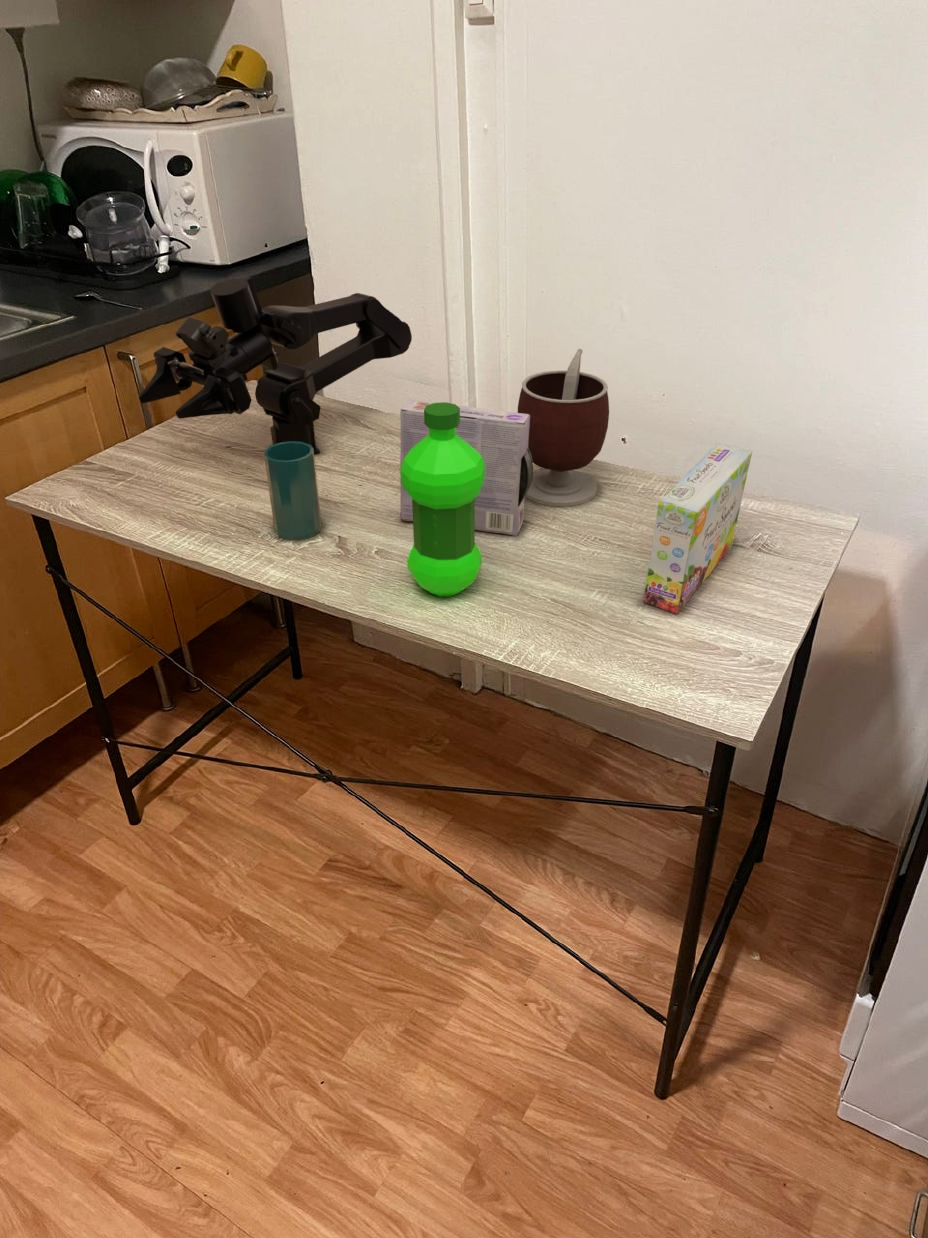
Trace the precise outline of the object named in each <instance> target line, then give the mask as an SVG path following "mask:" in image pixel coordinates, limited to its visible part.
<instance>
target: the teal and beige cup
mask: <svg viewBox="0 0 928 1238" xmlns="http://www.w3.org/2000/svg"><path fill="white" fill-rule="evenodd" d="M263 458H264V463H265V464H264V465H265V471H266V479H267V486H268V492H269V493H268V494H269V499H270V500H269V501H270V507H271V515H272V521H273V522H272V523H273V529H274V532H275V534H276V536H278V537H279V538H281V539H284V540H288V541H301V540H306V539H310V538H313V537H315V536H317V535H318V534H319V533H320V531H321V530H322V515H321V507H320V497H319V488H318V487H319V486H318V479H317V478H318V477H317V469H316V460H315V454H314V449H313V447H312V446H311V445H310V444H307V443H304V442H297V441H288V442H281V443H277V444H274V445H272V444H271V445H269V446H268V447H267V448H265V449H264V453H263Z"/></svg>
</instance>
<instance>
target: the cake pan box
mask: <svg viewBox="0 0 928 1238" xmlns="http://www.w3.org/2000/svg"><path fill="white" fill-rule="evenodd" d="M433 403H434V402H431V401H421V400H415V399H409V400H407V401H406V403H404V404H403V405H402V407H400V413H399V414H400V416H399V418H400V456H399V457H400V459H399V460H400V465H399V466H400V469H401V466H402V463H403V460H404V458H405V457H406V455H407V454H408V452H409V451H410V449H411V448H413V447H414V446H415V445H416V444H417V443H418V442H420V441H421V440H422V439H423V438H425V437H426V436H428V435H429V428H428V427H427V426H426V425H425V424H424V409H425V407H426V406H427V405H430V404H433ZM457 406H458V407H459V408H460V423H459V425H458V427H456V435H457V436H459V437H460V438H462V439H463V440H464V441H465V442H467V443H468V444H469V445H470V446H471V447H472V448H474V449H475V450H476V451H477V452H478V453H479V454H480V455H481V456H482V458H483V461H484V463H485V478H484V482H483V485H482V488H481V490H480V492H479V494H478V496H477V497H476V498H475V531H480V532H488V533H496V534H501V535H502V534H503V535H509V536H513V537H515V536H516V537H517V536H518V534H519V532H520V530H521V528H522V525H523V523H524V517H525V515H524V514H525V513H524V512H525V500H526V499H525V498H526V497H525V495H526V494H527V492H528V490H529V488H530V485H531V482H532V478H533V472H534V463H533V461H532V456H531V453H530V450H529V448H528V439H529V426H530V415H529V414H523V413H518V412H515V411H514V412H513V411H506V410H505V411H504V410H496V409H488V408H481V407H475V406H474V407H472V406H464V405H457ZM399 472H400V471H399ZM399 474H400V477H401V472H400V473H399ZM400 518H401V521H403V522H413V509H412V498H411V497H410V495H409V494H408V493H407V492H406V491H405V490H404V488H403V485H402V481H401V480H400Z"/></svg>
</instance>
